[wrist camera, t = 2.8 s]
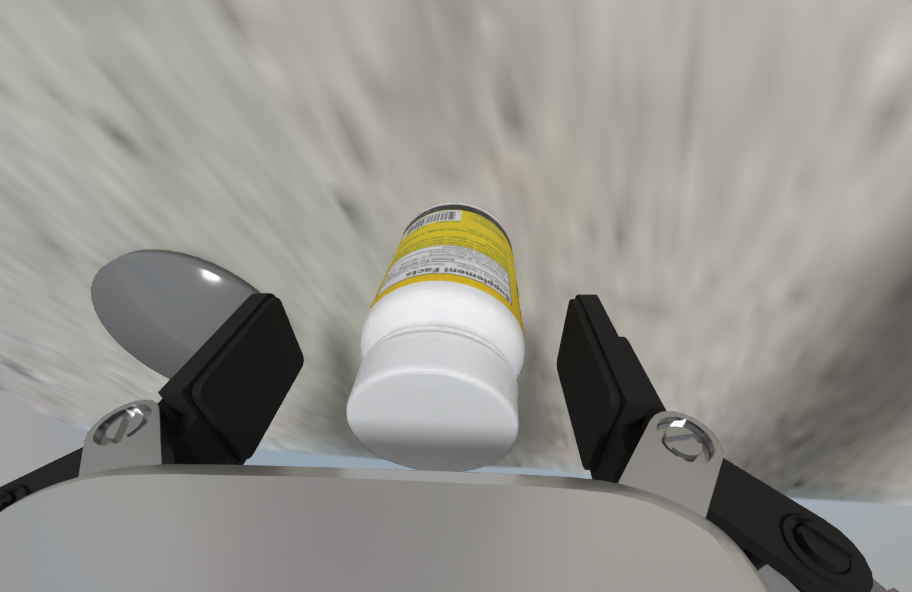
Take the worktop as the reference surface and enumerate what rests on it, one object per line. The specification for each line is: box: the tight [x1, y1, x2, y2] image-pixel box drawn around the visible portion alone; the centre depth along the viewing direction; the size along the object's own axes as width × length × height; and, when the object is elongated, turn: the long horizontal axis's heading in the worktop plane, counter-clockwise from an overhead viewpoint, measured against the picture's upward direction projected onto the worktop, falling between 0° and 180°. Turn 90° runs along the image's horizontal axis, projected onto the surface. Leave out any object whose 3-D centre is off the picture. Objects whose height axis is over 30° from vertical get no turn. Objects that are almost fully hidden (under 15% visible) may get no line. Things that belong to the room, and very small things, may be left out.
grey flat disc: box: [91, 250, 260, 379], centre depth 18 cm, size 10×10×1 cm
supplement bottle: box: [346, 202, 525, 472], centre depth 11 cm, size 5×5×8 cm
